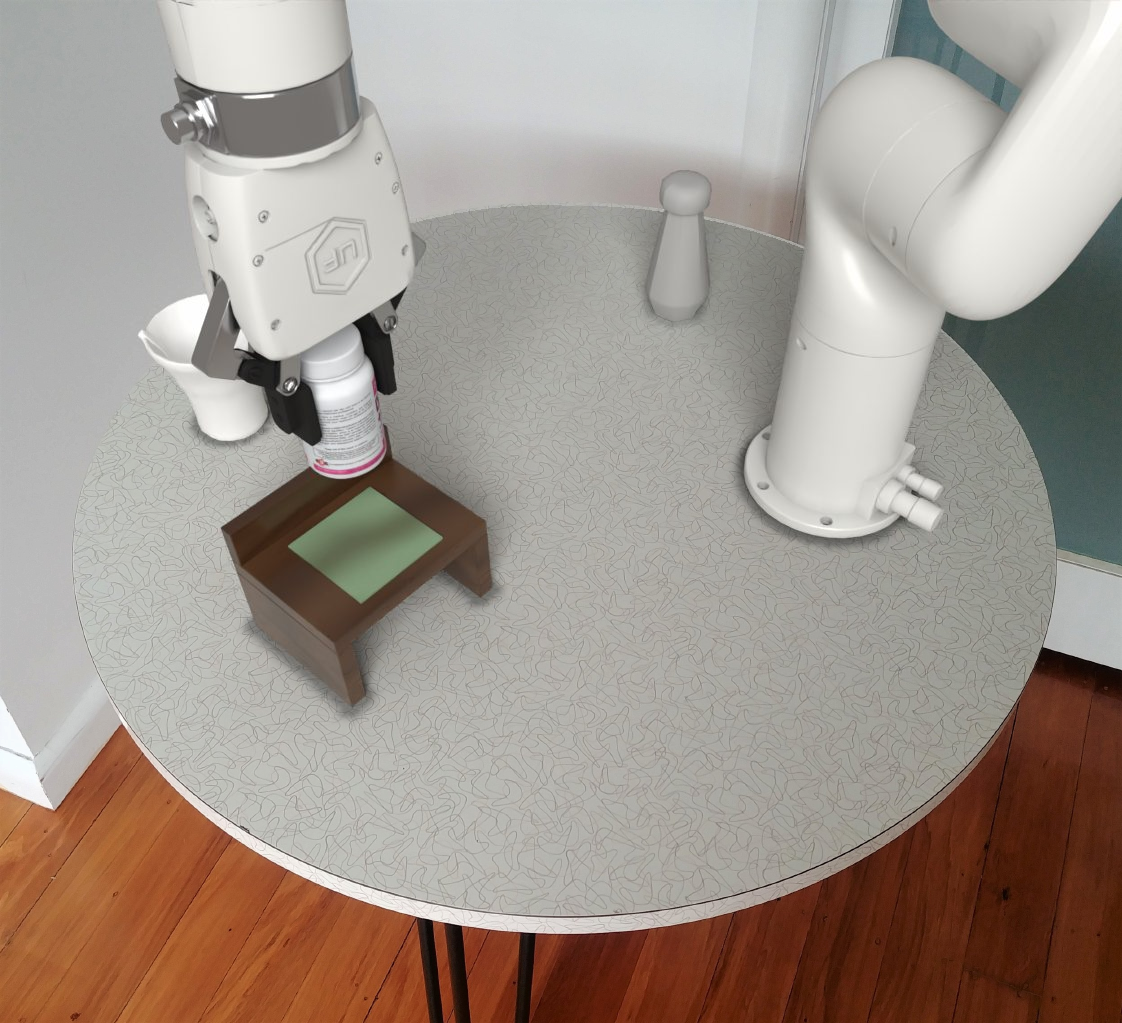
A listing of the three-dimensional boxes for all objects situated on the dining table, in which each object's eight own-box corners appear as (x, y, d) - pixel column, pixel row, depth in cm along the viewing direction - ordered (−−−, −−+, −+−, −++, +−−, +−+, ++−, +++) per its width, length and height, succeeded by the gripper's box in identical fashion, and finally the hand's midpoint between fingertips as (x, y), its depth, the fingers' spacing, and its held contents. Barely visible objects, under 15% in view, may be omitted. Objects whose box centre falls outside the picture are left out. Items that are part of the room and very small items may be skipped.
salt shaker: (647, 286, 99) (655, 157, 89) (709, 292, 98) (724, 163, 89) (640, 324, 95) (647, 193, 85) (704, 330, 94) (719, 199, 85)
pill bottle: (404, 453, 63) (385, 339, 56) (337, 493, 60) (310, 379, 54) (356, 414, 65) (333, 301, 59) (290, 452, 63) (260, 338, 57)
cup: (180, 392, 89) (145, 293, 82) (292, 383, 90) (267, 284, 82) (166, 466, 83) (127, 366, 76) (286, 455, 84) (259, 356, 76)
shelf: (492, 587, 75) (483, 488, 67) (352, 707, 68) (325, 612, 61) (395, 519, 79) (377, 419, 72) (255, 625, 72) (219, 527, 65)
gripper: (157, 204, 41) (259, 523, 54) (469, 57, 49) (490, 363, 63) (53, 141, 44) (173, 456, 57) (362, 14, 53) (404, 313, 66)
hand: (338, 405), depth 60 cm, fingers closed on pill bottle, 4 cm apart
